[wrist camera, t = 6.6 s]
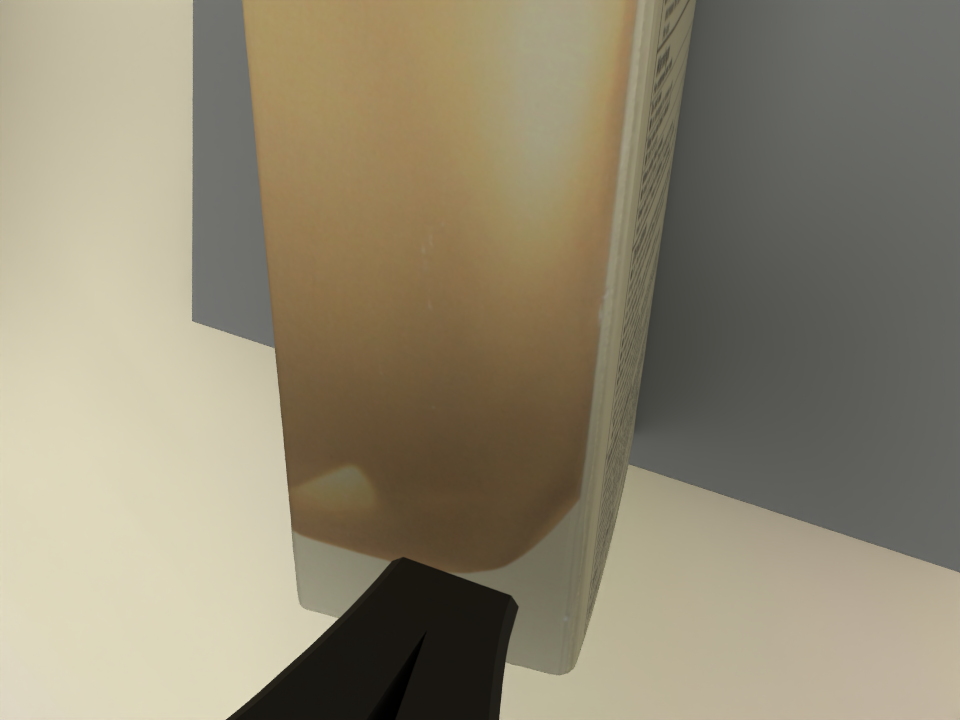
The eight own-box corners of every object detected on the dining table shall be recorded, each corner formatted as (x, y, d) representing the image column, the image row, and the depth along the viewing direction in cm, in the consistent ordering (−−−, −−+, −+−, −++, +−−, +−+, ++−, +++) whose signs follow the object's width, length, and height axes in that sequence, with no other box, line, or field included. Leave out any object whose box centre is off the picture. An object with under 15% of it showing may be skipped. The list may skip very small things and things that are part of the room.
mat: (959, 562, 17) (962, 573, 17) (199, 314, 20) (192, 320, 20) (1735, -636, 9) (1763, -649, 8) (209, -810, 11) (195, -825, 11)
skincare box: (425, 404, 19) (430, -343, 13) (638, 444, 18) (753, -345, 12) (279, 628, 13) (166, -484, 7) (572, 703, 12) (722, -511, 6)
